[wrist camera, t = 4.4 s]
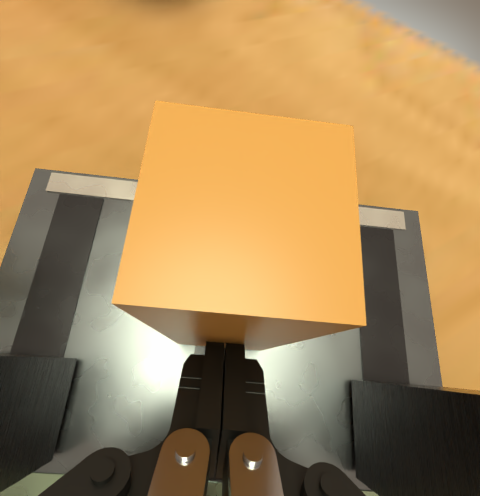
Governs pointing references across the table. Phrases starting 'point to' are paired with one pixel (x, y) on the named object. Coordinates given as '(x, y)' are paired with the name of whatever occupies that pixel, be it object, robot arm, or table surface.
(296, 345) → the panel
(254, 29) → the table surface
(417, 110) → the table surface
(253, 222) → the handle
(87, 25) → the table surface
